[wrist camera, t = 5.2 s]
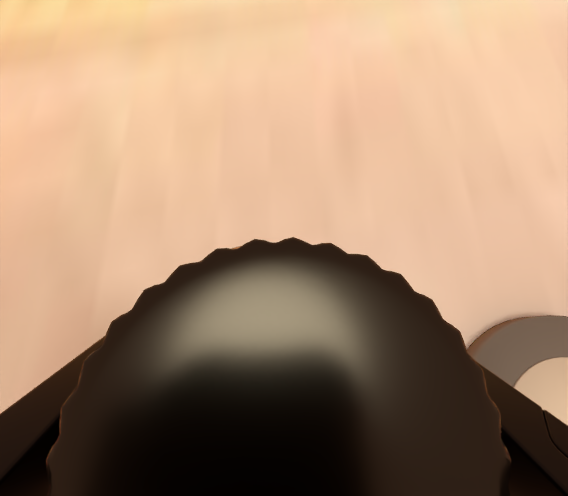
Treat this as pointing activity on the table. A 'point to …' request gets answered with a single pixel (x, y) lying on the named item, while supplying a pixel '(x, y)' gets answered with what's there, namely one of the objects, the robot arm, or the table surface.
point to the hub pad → (529, 359)
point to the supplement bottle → (280, 387)
